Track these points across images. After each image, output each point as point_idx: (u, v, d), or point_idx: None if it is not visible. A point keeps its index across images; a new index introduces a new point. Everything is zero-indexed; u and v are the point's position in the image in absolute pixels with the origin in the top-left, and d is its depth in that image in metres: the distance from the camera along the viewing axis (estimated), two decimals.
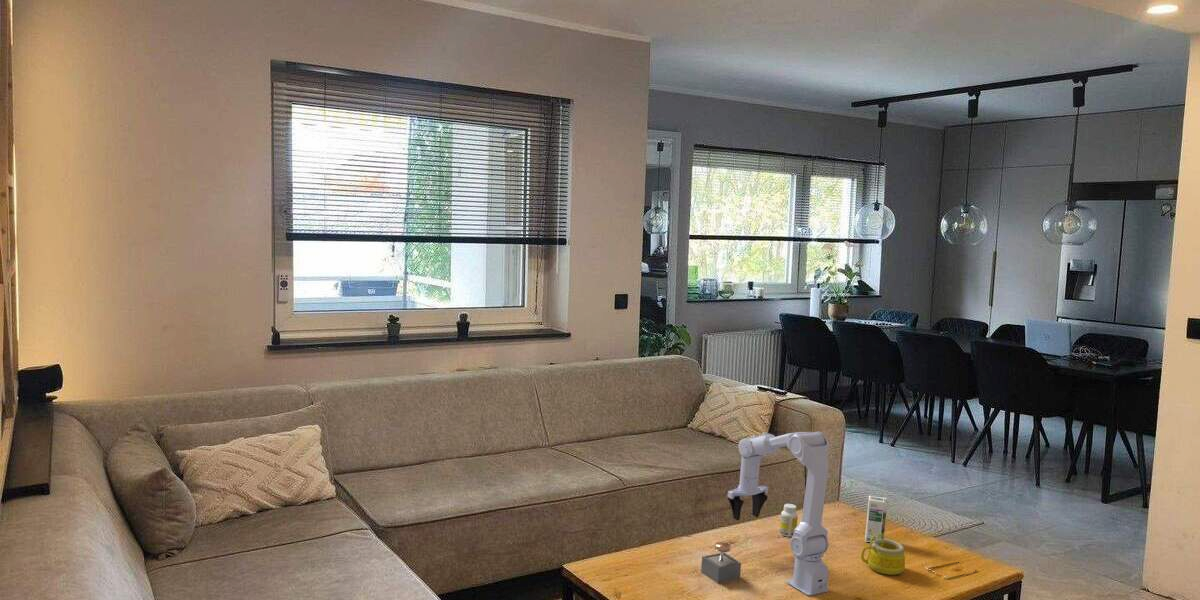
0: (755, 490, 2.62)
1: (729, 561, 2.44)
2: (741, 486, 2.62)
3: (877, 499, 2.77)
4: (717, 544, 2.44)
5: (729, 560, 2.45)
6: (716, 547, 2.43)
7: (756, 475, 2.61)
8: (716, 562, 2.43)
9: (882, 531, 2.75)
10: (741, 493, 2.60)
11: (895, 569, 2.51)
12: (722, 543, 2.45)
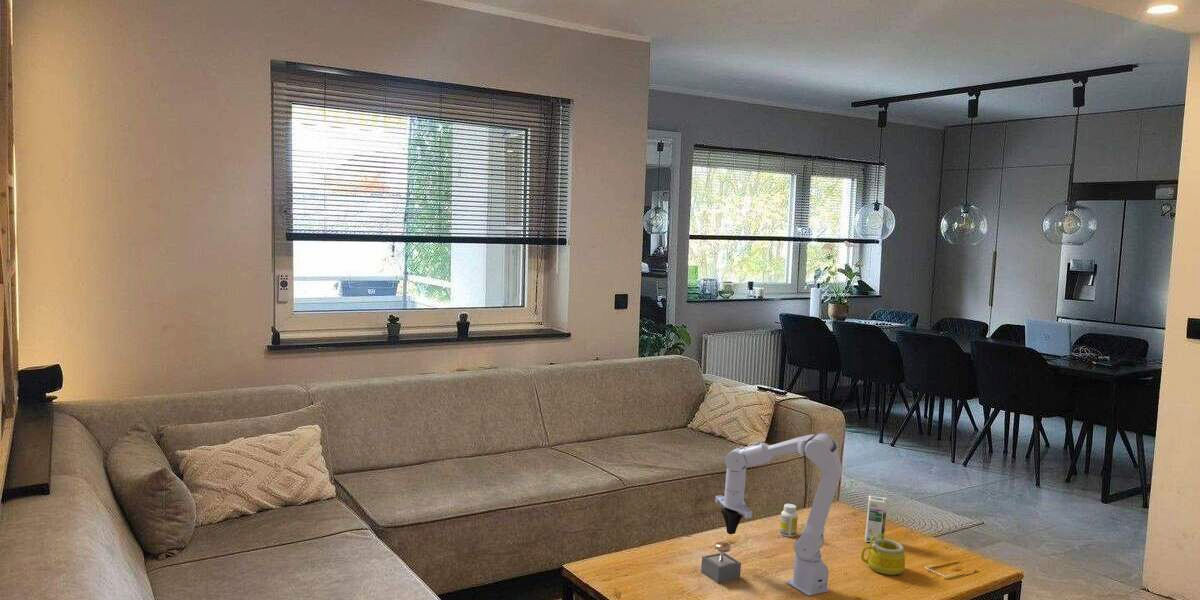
0: (727, 503, 2.49)
1: (729, 561, 2.44)
2: None
3: (877, 499, 2.77)
4: (717, 544, 2.44)
5: (729, 560, 2.45)
6: (716, 547, 2.43)
7: (744, 487, 2.49)
8: (716, 562, 2.43)
9: (882, 531, 2.75)
10: (720, 500, 2.53)
11: (895, 569, 2.51)
12: (722, 543, 2.45)
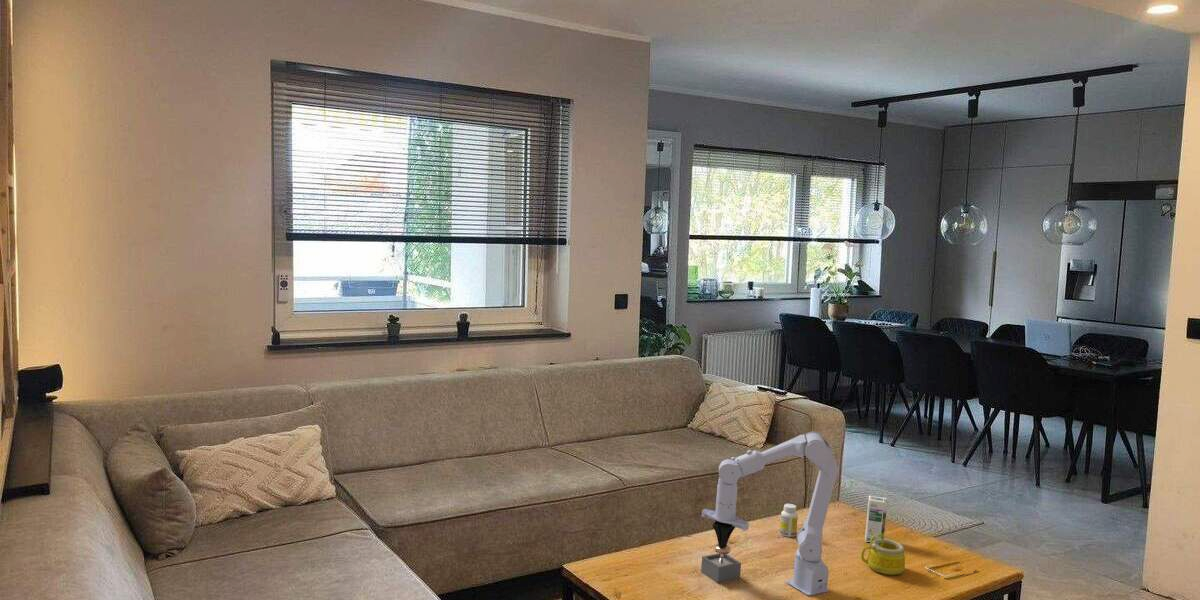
0: (721, 517, 2.41)
1: (729, 563, 2.44)
2: None
3: (877, 499, 2.77)
4: (717, 546, 2.45)
5: (729, 562, 2.45)
6: (716, 549, 2.44)
7: None
8: None
9: (882, 531, 2.75)
10: (709, 515, 2.45)
11: (895, 569, 2.51)
12: None
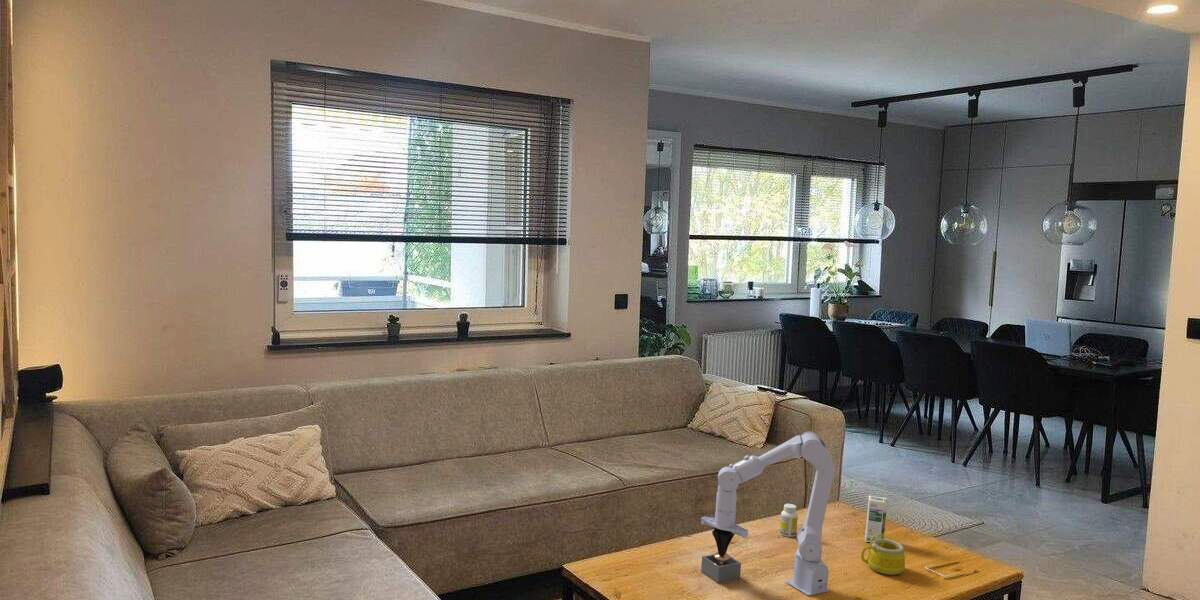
0: (721, 525, 2.41)
1: None
2: None
3: (877, 499, 2.77)
4: (716, 554, 2.45)
5: None
6: (715, 557, 2.44)
7: None
8: None
9: (882, 531, 2.75)
10: (709, 522, 2.45)
11: (895, 569, 2.51)
12: None
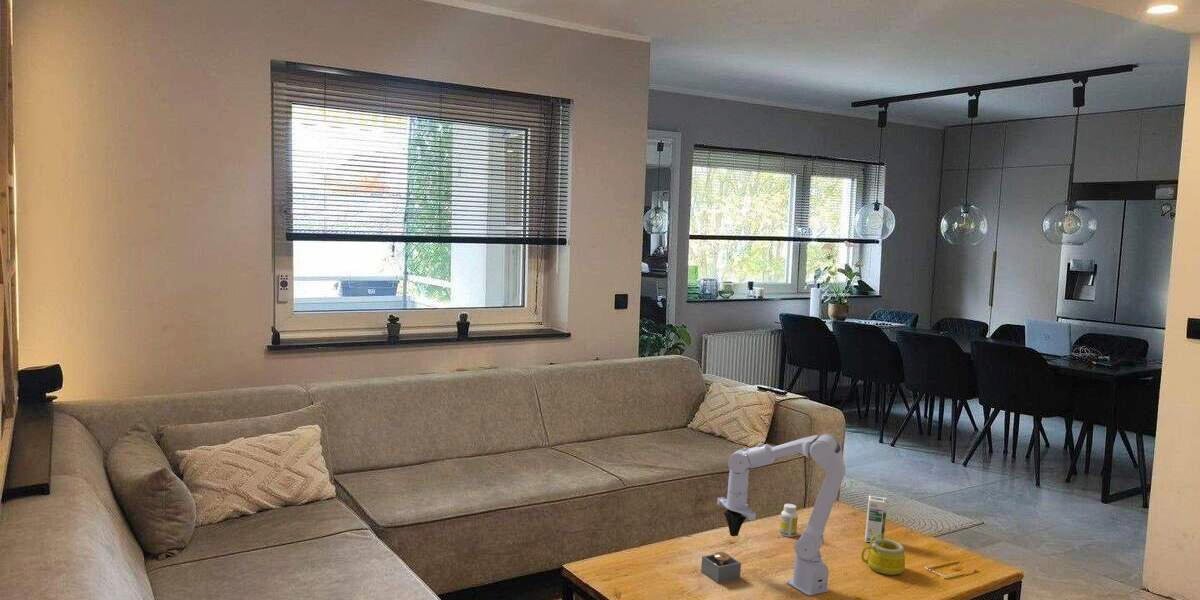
0: (730, 505, 2.47)
1: None
2: None
3: (877, 499, 2.77)
4: (716, 554, 2.45)
5: None
6: (715, 557, 2.44)
7: (747, 489, 2.48)
8: None
9: (882, 531, 2.75)
10: (722, 502, 2.52)
11: (895, 569, 2.51)
12: (721, 553, 2.46)
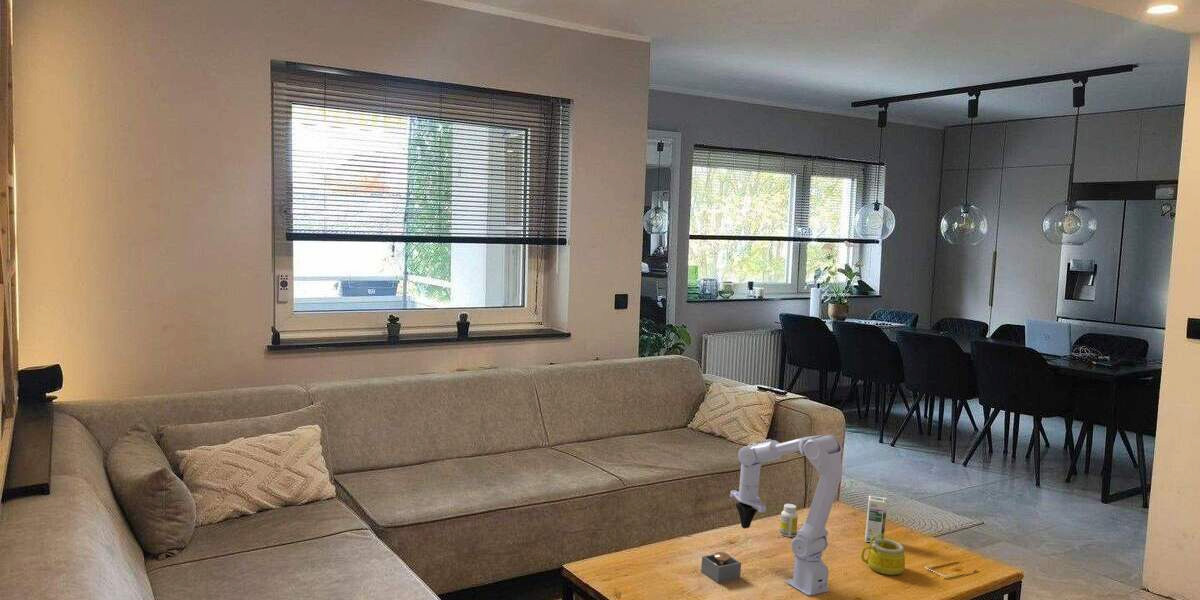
0: (742, 498, 2.54)
1: None
2: None
3: (877, 499, 2.77)
4: (716, 554, 2.45)
5: None
6: (715, 557, 2.44)
7: (757, 483, 2.54)
8: None
9: (882, 531, 2.75)
10: (735, 495, 2.59)
11: (895, 569, 2.51)
12: (721, 553, 2.46)
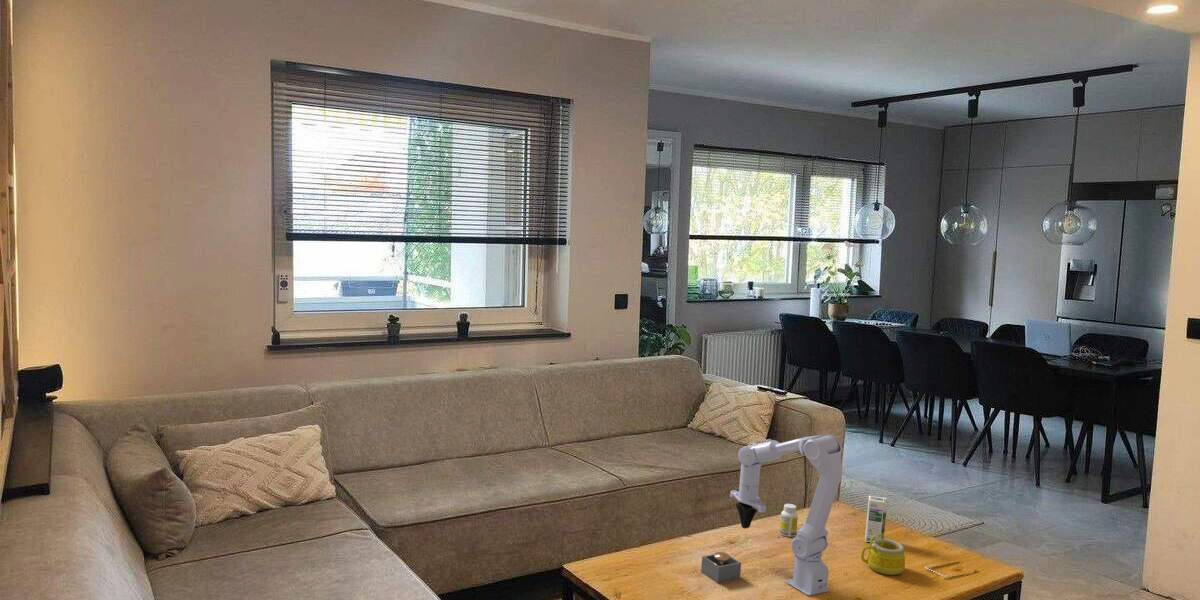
0: (742, 498, 2.54)
1: None
2: None
3: (877, 499, 2.77)
4: (716, 554, 2.45)
5: None
6: (715, 557, 2.44)
7: (757, 483, 2.54)
8: None
9: (882, 531, 2.75)
10: (735, 495, 2.59)
11: (895, 569, 2.51)
12: (721, 553, 2.46)
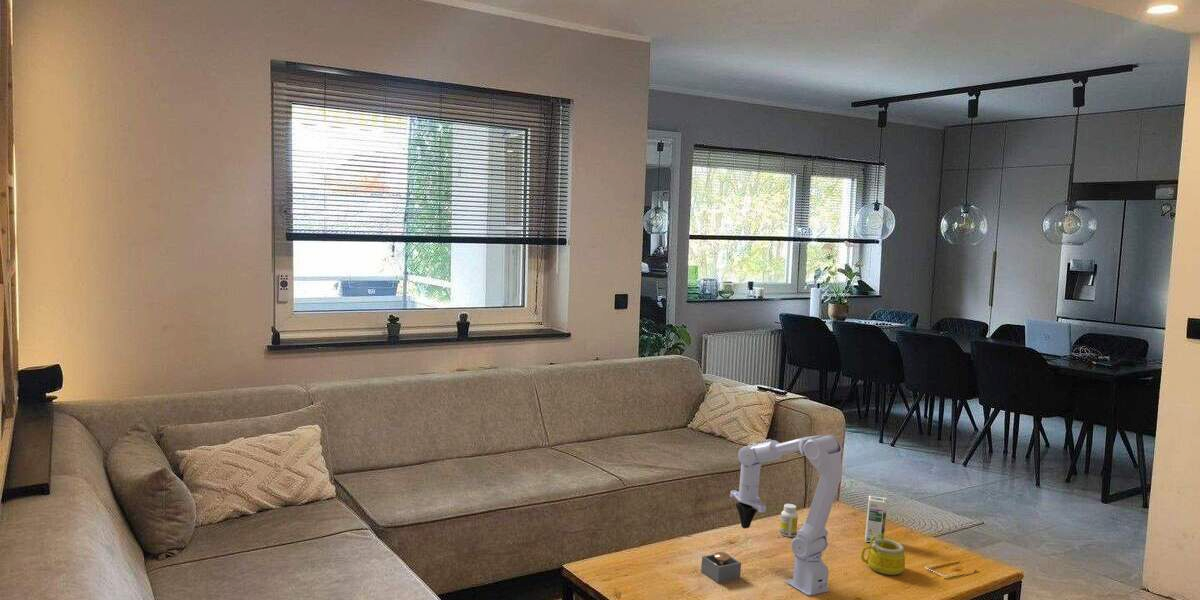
0: (742, 498, 2.54)
1: None
2: None
3: (877, 499, 2.77)
4: (716, 554, 2.45)
5: None
6: (715, 557, 2.44)
7: (757, 483, 2.54)
8: None
9: (882, 531, 2.75)
10: (735, 495, 2.59)
11: (895, 569, 2.51)
12: (721, 553, 2.46)
